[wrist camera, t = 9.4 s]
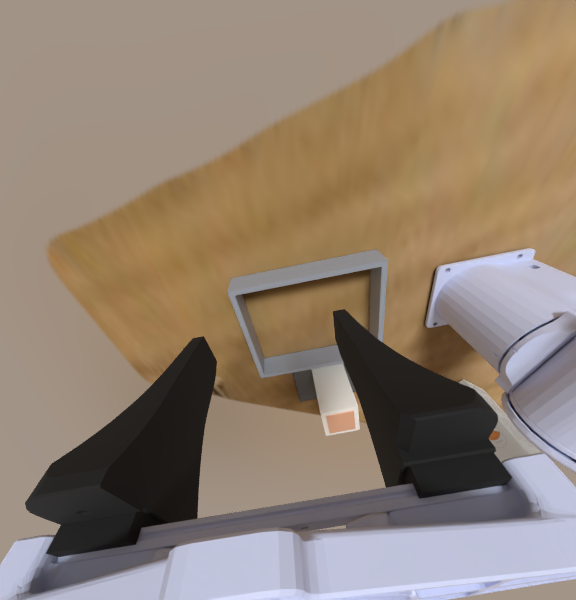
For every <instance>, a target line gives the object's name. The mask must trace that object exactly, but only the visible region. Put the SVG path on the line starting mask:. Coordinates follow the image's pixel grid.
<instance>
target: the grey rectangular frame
mask: <svg viewBox="0 0 576 600" xmlns="http://www.w3.org/2000/svg"><path fill="white" fill-rule="evenodd" d="M387 268H388V260H387V259H386V258H385V257H384V256H383V255H382V254H381V253H380V252H379V251H378V250H377V249H375V250H370V251H365V252H360V253H355V254H350V255H345V256H340V257H335V258H330V259H325V260H320V261H315V262H311V263H306V264H301V265H296V266H291V267H286V268H281V269H276V270H271V271H266V272H261V273H256V274H251V275H246V276H241V277H236V278H231V281H230V284H229V288H228V295H229V297H230V300H231V302H232V305H233V308H234V310H235V313H236V315H237V318H238V320H239V323H240V326H241V328H242V331H243V333H244V336H245V338H246V341H247V344H248V346H249V349H250V351H251V354H252V356H253V359H254V362H255V364H256V367H257V369H258V372H259V374H260V377H261V378H266V377H272V376H277V375H282V374H288V373H293V372H299V371H304V370H310V369H315V368H320V367H326V366H331V365H337V364H342V363H344V362H343V360H342V358H341V355H340V352H339V349H338V346H337V345H333V346H327V347H322V348H317V349H311V350H306V351H301V352H295V353H290V354H285V355H279V356H274V357H269V358H264V356H263V353H262V350H261V347H260V344H259V341H258V339H257V336H256V333H255V330H254V327H253V324H252V321H251V318H250V316H249V313H248V310H247V307H246V304H245V301H244V298H243V296H242V294H246V293H251V292H256V291H261V290H266V289H271V288H276V287H281V286H286V285H291V284H296V283H301V282H306V281H311V280H317V279H322V278H327V277H332V276H337V275H342V274H347V273H352V272H357V271H362V270H367V269H371V276H370V322H369V332H370V333H371V334H372V335H373V336H375V337H376V338H377V339H379V340H380V341H381V342H383V328H384V313H385V298H386V283H387Z"/></svg>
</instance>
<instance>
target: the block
mask: <svg viewBox="0 0 576 600" xmlns="http://www.w3.org/2000/svg"><path fill="white" fill-rule="evenodd" d="M311 370H312V374H313V379H314V384H315V389H316V394H317V399H318V404H319V409H320V414H321V418H322V422H323V425H324V429H325V434H326V436H328V435H334V434H340V433H345V432H350V431H355V430H359V429H360V427H359V414H358V405H357V402H356V399H355V396H354V394H353V391H352V388H351V385H350V382H349V380H348V377H347V374H346V371H345V368H344V365H343V363H342V364H337V365H331V366H326V367H320V368H315V369H311Z"/></svg>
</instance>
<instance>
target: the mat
mask: <svg viewBox="0 0 576 600" xmlns="http://www.w3.org/2000/svg"><path fill="white" fill-rule="evenodd" d="M343 365H344V363H343ZM344 368H345V371H346V374H347V377H348V380H349V382H350V385H351V388H352V391H353V392H356V390H355V388H354V385H353V383H352V381H351V379H350V376H349V374H348V372H347V369H346V367H345V365H344ZM293 376H294V379H295V383H296V387H297V391H298V395H299V399H300V402H301V401H306V400H312V399H317V394H316V389H315V384H314V379H313V374H312V370H311V369H310V370H304V371H299V372H293Z"/></svg>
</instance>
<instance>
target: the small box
mask: <svg viewBox="0 0 576 600" xmlns="http://www.w3.org/2000/svg"><path fill="white" fill-rule="evenodd" d="M458 383H460V384H463V385H465V386H468V387H470V388H473V389H475V390H476V391H477V392H478V393H479V394H480V395H481V396H482V397H483V398H484V399H485V401H486V402H487V403H488V404H489V405H490V406H491V407H492V409H493V410H494V411H495V412H496V413H497V415H498V422H497V425H496V427H495V429H494V430H493V432H492V434H491V435H490V437H489V438H488V439H489V440H490V441H491V443H492V444H493V445H494V447H495V448H496V452H494V454H495V455H496V456H497V458H498V459H499V460H500V462H502V461H503V460H506V459H508V458H512V457H518V456H524V455H530V454H536V453H541V452H540V451H539V450H538V449H537V448H536V447H535V446H534V445H532V444H531V443H530V442H529V441H528V440H527V439H526V438H525V437H524V436H523V435H522V434H521V433H520V432H519V431H518V430H517V429H516V428H515V426H514V425H513V424H512V422H511V421H510V419H509V417H508V416H507V415H506V414H505V413H504V412H503V410H502V409H501V408H500V407H499V406H498V405H497V404H496V403H495V402H494V401H493V399H492V398H491V397H490V396H489V395H488V394H487V393H486V392H485V391H484V390H483V389H481V388H480V387H478V386H476V385H474V384H472V383H470V382H468V381H466V380H464V379H462V380H461V381H459V382H458Z"/></svg>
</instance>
